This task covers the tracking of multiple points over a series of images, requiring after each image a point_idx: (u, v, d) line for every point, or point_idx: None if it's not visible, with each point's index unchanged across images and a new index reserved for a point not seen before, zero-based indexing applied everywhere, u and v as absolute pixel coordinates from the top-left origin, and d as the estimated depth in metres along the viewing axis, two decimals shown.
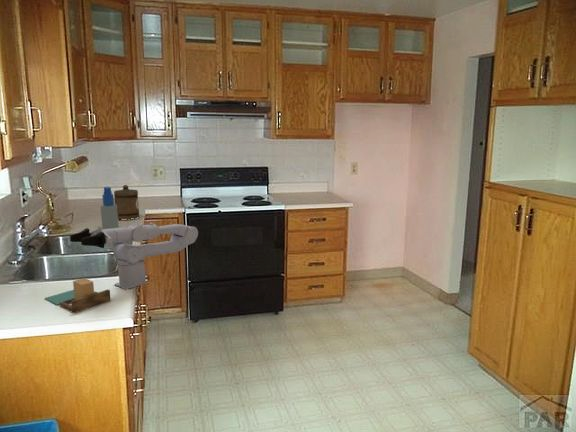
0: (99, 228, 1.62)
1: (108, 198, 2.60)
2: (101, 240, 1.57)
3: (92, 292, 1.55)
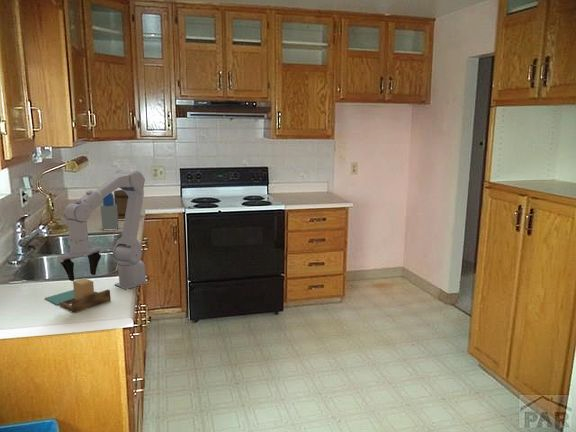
0: (85, 255, 1.51)
1: (108, 198, 2.60)
2: None
3: (92, 292, 1.55)
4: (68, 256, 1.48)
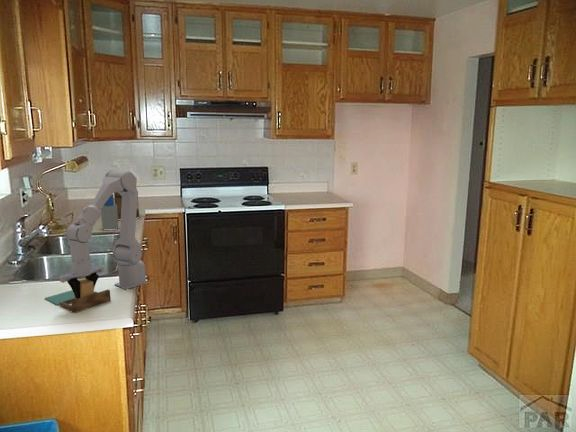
0: None
1: None
2: None
3: (92, 292, 1.55)
4: (70, 276, 1.50)
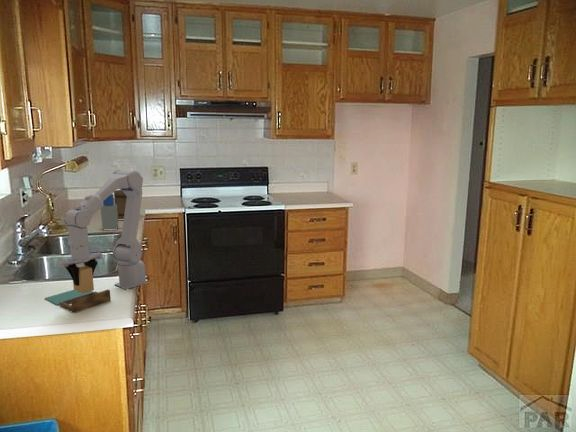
0: None
1: (108, 198, 2.60)
2: None
3: (91, 278, 1.54)
4: (69, 262, 1.49)
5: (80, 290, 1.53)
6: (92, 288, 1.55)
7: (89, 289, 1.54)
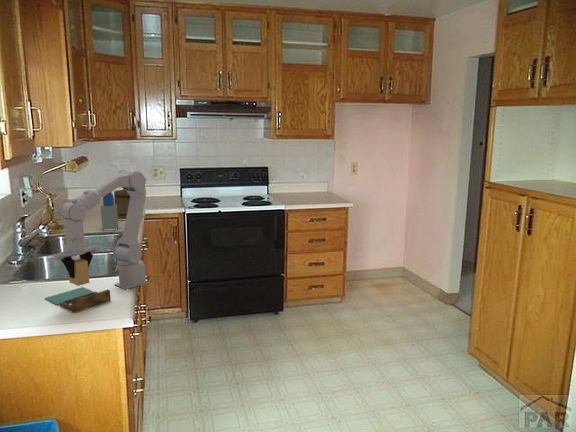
0: (81, 253, 1.53)
1: (108, 198, 2.60)
2: None
3: (86, 271, 1.55)
4: (64, 255, 1.50)
5: (76, 283, 1.54)
6: (87, 281, 1.56)
7: (84, 282, 1.55)
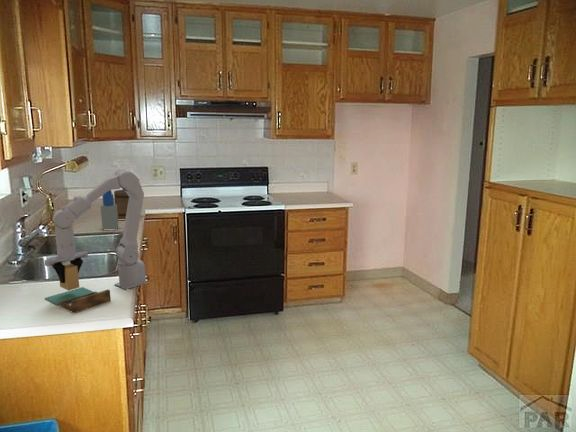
0: (71, 259, 1.58)
1: (108, 198, 2.60)
2: None
3: (76, 276, 1.60)
4: (55, 260, 1.55)
5: (66, 287, 1.59)
6: (77, 285, 1.61)
7: (75, 286, 1.60)
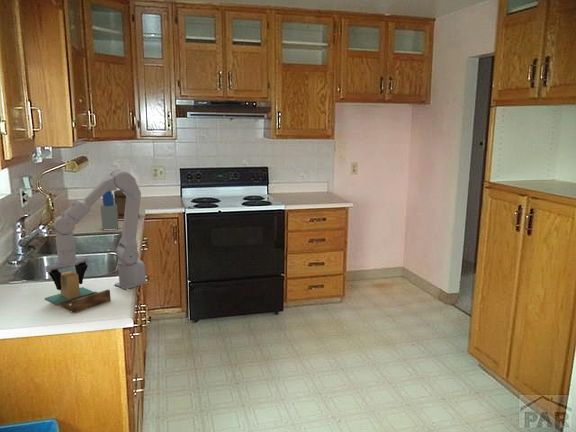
0: None
1: (108, 198, 2.60)
2: None
3: (77, 284, 1.61)
4: (55, 266, 1.56)
5: (67, 296, 1.60)
6: (78, 294, 1.62)
7: (75, 295, 1.61)
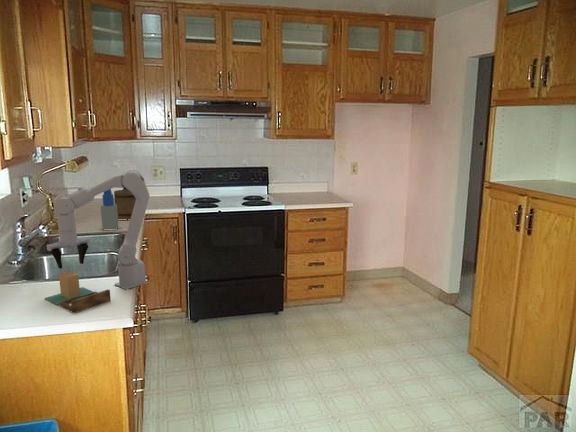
0: (72, 245, 1.64)
1: (108, 198, 2.60)
2: None
3: (77, 284, 1.61)
4: (56, 245, 1.61)
5: (67, 296, 1.60)
6: (78, 294, 1.62)
7: (75, 295, 1.61)
